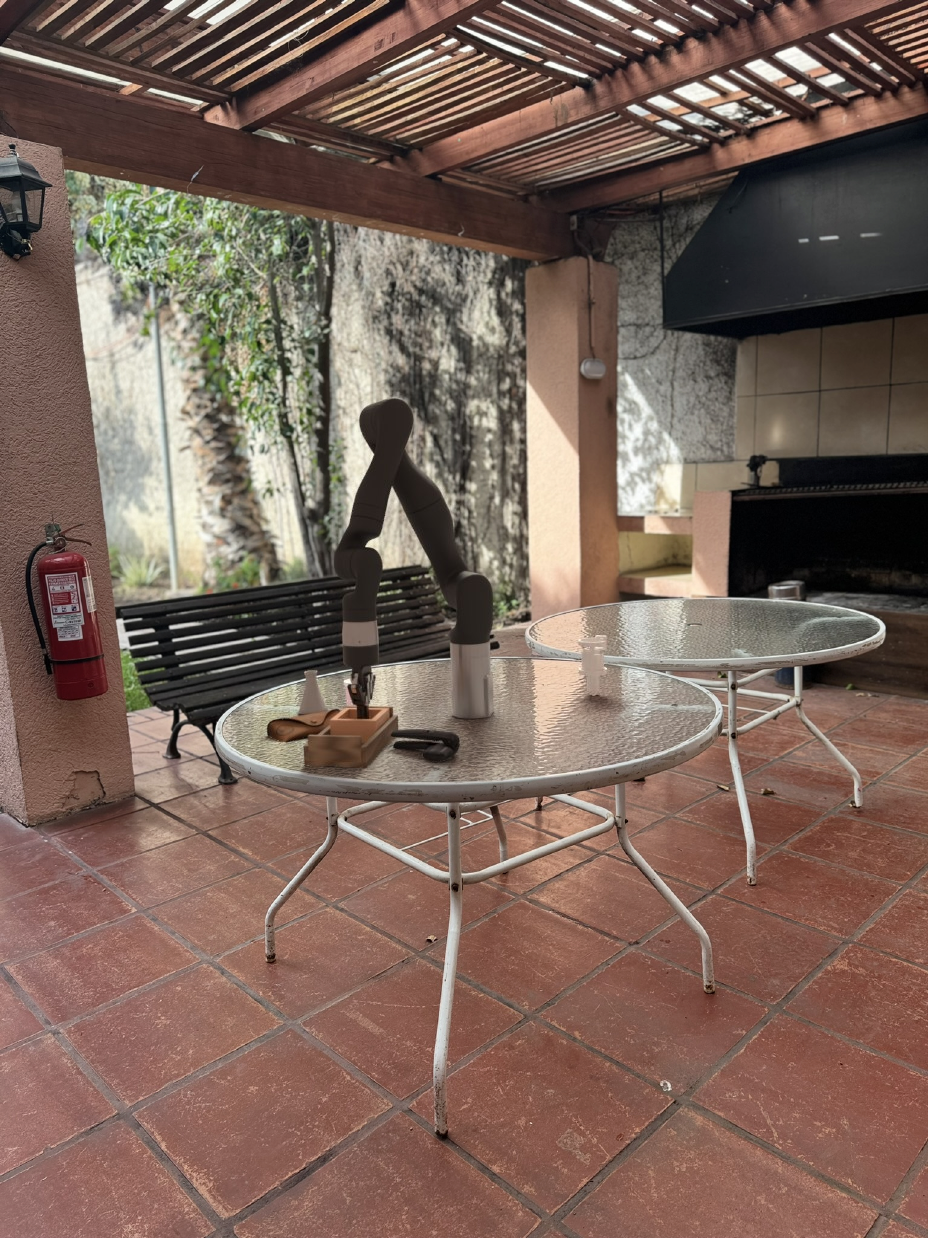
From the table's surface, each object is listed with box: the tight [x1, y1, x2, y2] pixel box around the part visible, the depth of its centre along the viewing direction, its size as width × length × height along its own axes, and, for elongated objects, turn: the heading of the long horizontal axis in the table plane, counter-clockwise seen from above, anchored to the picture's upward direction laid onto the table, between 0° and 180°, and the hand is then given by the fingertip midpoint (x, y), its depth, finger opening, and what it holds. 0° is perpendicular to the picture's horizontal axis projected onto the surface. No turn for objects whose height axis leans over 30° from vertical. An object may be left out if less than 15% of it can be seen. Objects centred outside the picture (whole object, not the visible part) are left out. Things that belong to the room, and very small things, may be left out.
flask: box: [297, 670, 329, 715], centre depth 215 cm, size 7×7×10 cm
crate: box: [330, 707, 390, 743], centre depth 188 cm, size 10×10×5 cm
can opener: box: [391, 727, 461, 763], centre depth 179 cm, size 18×7×6 cm, turn 48°
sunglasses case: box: [266, 708, 341, 743], centre depth 198 cm, size 18×7×7 cm
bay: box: [303, 705, 399, 769], centre depth 183 cm, size 12×24×6 cm, turn 169°
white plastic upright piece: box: [577, 634, 608, 692], centre depth 222 cm, size 7×7×15 cm
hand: (363, 722), depth 190 cm, fingers closed
